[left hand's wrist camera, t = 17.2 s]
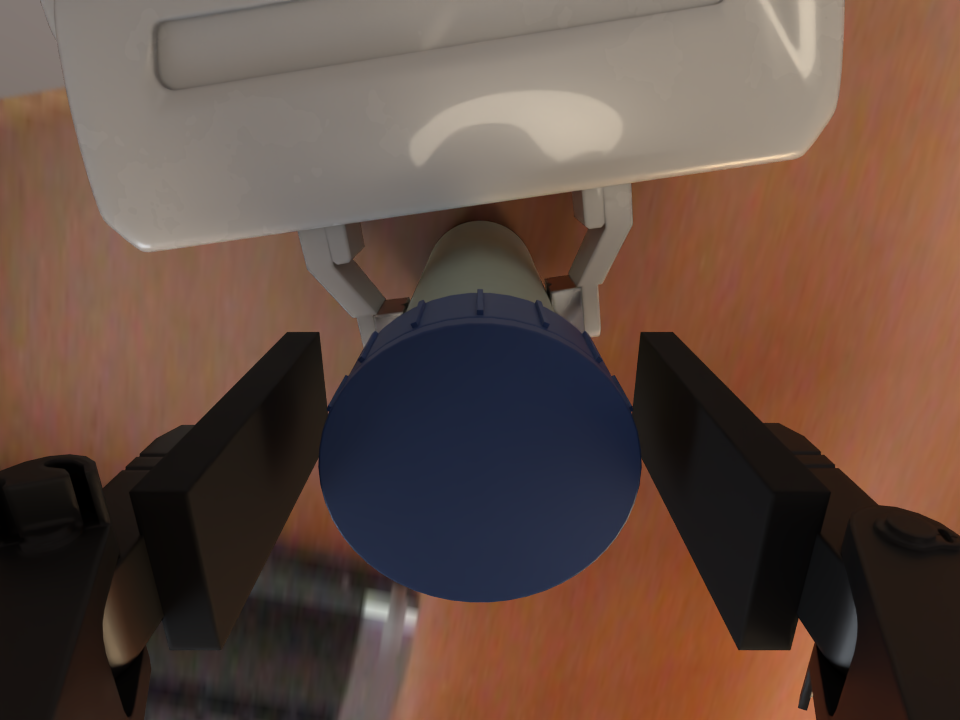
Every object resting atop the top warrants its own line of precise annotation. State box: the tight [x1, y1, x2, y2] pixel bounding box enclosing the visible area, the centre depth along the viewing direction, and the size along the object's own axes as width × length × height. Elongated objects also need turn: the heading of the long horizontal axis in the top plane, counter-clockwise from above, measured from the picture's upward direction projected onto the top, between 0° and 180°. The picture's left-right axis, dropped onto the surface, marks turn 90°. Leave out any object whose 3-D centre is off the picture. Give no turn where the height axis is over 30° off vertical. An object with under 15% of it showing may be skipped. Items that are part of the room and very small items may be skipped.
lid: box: [318, 289, 642, 602], centre depth 11 cm, size 6×6×2 cm
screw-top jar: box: [406, 221, 554, 312], centre depth 18 cm, size 5×5×15 cm
